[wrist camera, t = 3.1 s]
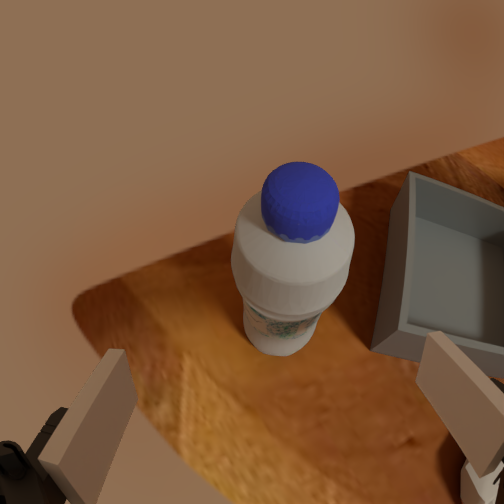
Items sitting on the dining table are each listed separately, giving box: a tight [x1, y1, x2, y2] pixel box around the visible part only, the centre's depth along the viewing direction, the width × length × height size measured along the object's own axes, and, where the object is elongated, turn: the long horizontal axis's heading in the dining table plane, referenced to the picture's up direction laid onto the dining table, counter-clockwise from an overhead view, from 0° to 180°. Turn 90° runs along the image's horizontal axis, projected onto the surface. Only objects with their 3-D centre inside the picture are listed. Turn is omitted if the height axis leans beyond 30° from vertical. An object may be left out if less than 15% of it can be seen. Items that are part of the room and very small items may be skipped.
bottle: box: [231, 162, 355, 356], centre depth 21 cm, size 7×7×20 cm
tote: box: [370, 171, 504, 378], centre depth 28 cm, size 18×18×7 cm
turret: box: [460, 459, 504, 504], centre depth 17 cm, size 10×20×5 cm, turn 17°
